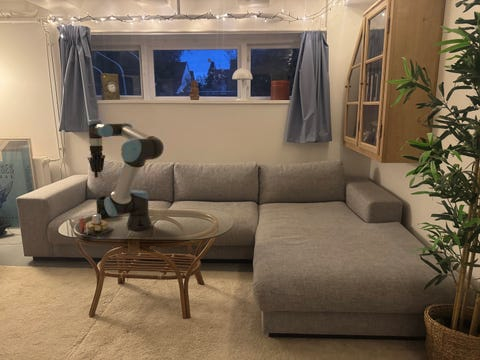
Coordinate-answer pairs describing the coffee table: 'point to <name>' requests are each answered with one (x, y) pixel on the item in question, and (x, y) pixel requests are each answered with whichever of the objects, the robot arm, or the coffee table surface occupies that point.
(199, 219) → the coffee table surface
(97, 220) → the spindle base
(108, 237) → the coffee table surface
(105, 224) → the toothed crank wheel
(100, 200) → the mug
